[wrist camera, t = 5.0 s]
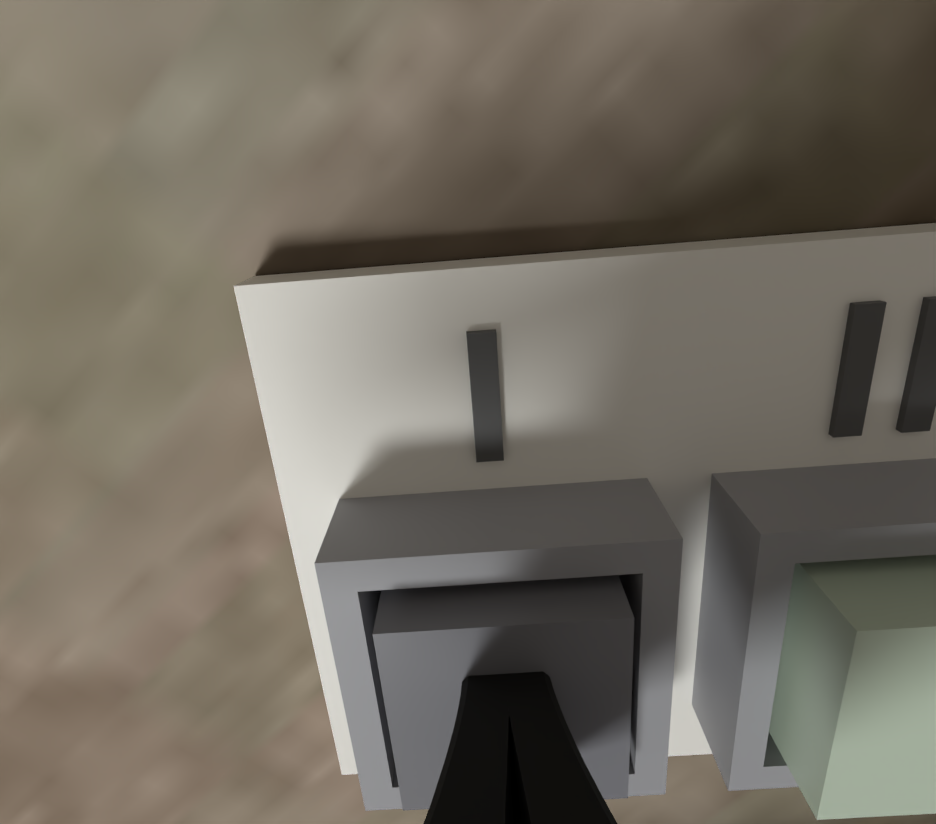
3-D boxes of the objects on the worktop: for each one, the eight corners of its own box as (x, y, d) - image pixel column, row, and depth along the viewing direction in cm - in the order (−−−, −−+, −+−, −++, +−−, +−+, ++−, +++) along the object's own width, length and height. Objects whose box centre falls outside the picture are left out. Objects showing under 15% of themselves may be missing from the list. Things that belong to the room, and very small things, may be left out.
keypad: (1249, 685, 14) (1436, 807, 12) (350, 737, 15) (323, 865, 12) (1530, 176, 10) (1932, 178, 7) (254, 276, 11) (179, 312, 8)
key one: (603, 704, 12) (628, 797, 11) (412, 715, 13) (402, 810, 11) (605, 542, 11) (634, 617, 9) (388, 556, 11) (372, 634, 9)
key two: (967, 705, 12) (1062, 806, 10) (761, 718, 12) (816, 819, 10) (1023, 532, 10) (1146, 613, 8) (786, 548, 10) (857, 631, 8)
